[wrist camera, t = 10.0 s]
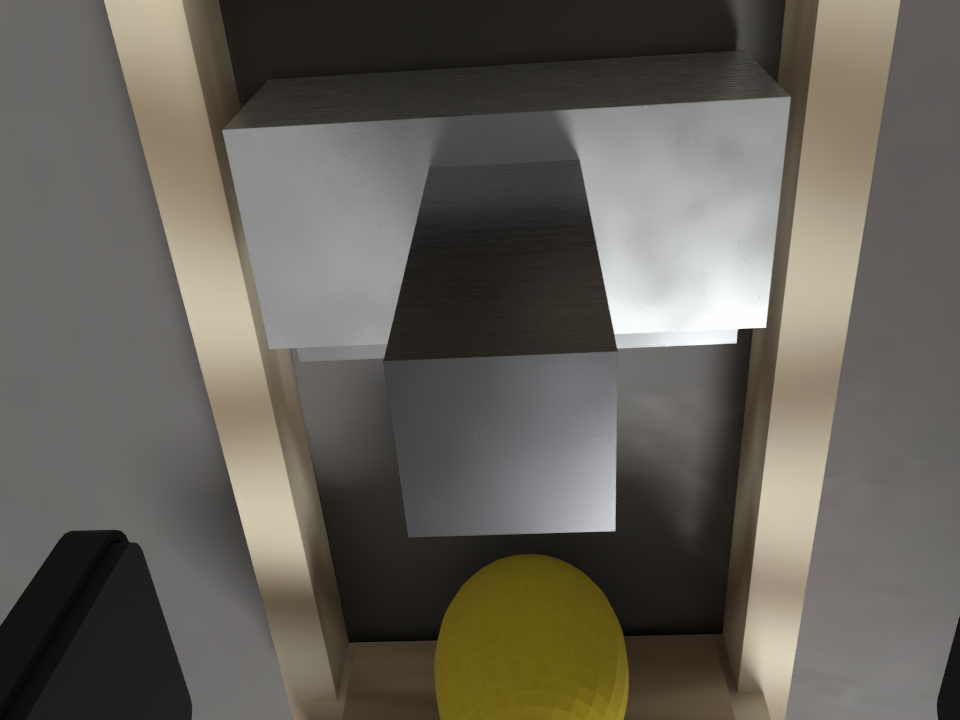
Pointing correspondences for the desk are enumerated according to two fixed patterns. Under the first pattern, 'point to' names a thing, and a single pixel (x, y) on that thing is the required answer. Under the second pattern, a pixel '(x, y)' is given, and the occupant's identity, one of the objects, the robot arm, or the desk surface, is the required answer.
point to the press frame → (769, 399)
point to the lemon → (531, 646)
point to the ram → (511, 255)
